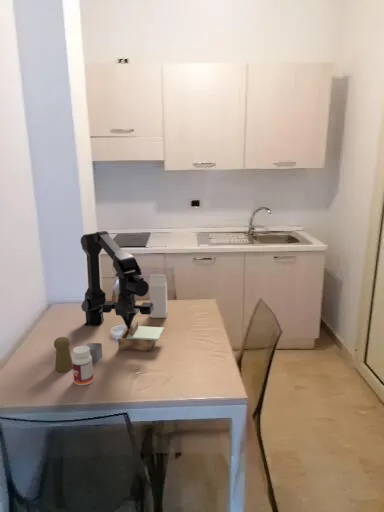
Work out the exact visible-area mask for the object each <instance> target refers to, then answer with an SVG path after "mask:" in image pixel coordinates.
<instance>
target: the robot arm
mask: <svg viewBox="0 0 384 512" xmlns="http://www.w3.org/2000/svg"><path fill="white" fill-rule="evenodd" d="M80 244H81V249H82V250H83V252H84V253H85V255H86V266H87V267H86V268H87V284H88V285H87V286H88V288H87V290H86V291H85V293H84V300H83V301H82V303H81V305H80V306H81V310H82V311H83V312H84V313H85V323H84V325H85V326H100V325H101V324H102V323H103V322H104V320H105V319H104V313H107V314H109V313H111V311H112V310H114V312H115V315H116V316H119V317H121V318H122V320H123V322H124V324H125V326H126V328H127V329H129V328H130V327H131V325H132V324H133V322H134V321H133V320H134V318H135V316H137V314H138V313H139V314H141V315H144V316H145V315H147V316H149V315H150V314H151V313H152V311H153V310H154V305H153V303H151V302H150V301H149V302H147V301H146V302H145V301H143V302H142V303H141V304H136V303H137V300H136V296H137V297H144V296H146V295H147V294H148V292H149V282H147V281H146V280H144V277H143V276H142V273H143V272H142V271H141V270H142V269H141V268H140V265H139V264H138V261H137V259H136V258H135V257H134V255H132V254H131V253H129V252H127V251H124V250H123V249H122V248H120V246H119V245H118V244H117V243H116V242H115V241H114V240H113V238H112V237H111V236H110V234H109V232H108V231H107V230H102V231H95V232H94V233H85V234H83V235H82V236H81V237H80ZM102 250H103V251H104V252H105V253H106V254H107V255H108V256H109V257H110V259H111V261H112V266H113V268H114V270H115V272H116V273H115V277H118V297H117V300H107V299H106V292H105V291H104V290H103V289H102V287H101V277H100V276H101V272H100V254H101V252H102Z"/></svg>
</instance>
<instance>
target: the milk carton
mask: <svg viewBox="0 0 384 512" xmlns="http://www.w3.org/2000/svg"><path fill="white" fill-rule="evenodd" d="M148 285H149V290H148V292H149V302H151V303H153V305H154V310H153V311H152V313H151V314H149V315H150V318H154V319H155V318H157V319H158V318H161V319H162V318H165V319H166V318H167V316H168V281H167V274H149V282H148Z"/></svg>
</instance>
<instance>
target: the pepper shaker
mask: <svg viewBox="0 0 384 512" xmlns="http://www.w3.org/2000/svg"><path fill="white" fill-rule="evenodd" d="M70 344H71V340H70V338H68V337H66V336H60V337H59V336H58V337H57V338H56V339H54V342H53V347H54V348H55V365H54V366H55V368H54V370H55V372H57V373H68V372H70V371H73V365H72V355H71V352H70V351H71V350H70V348H69V347H70Z"/></svg>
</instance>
